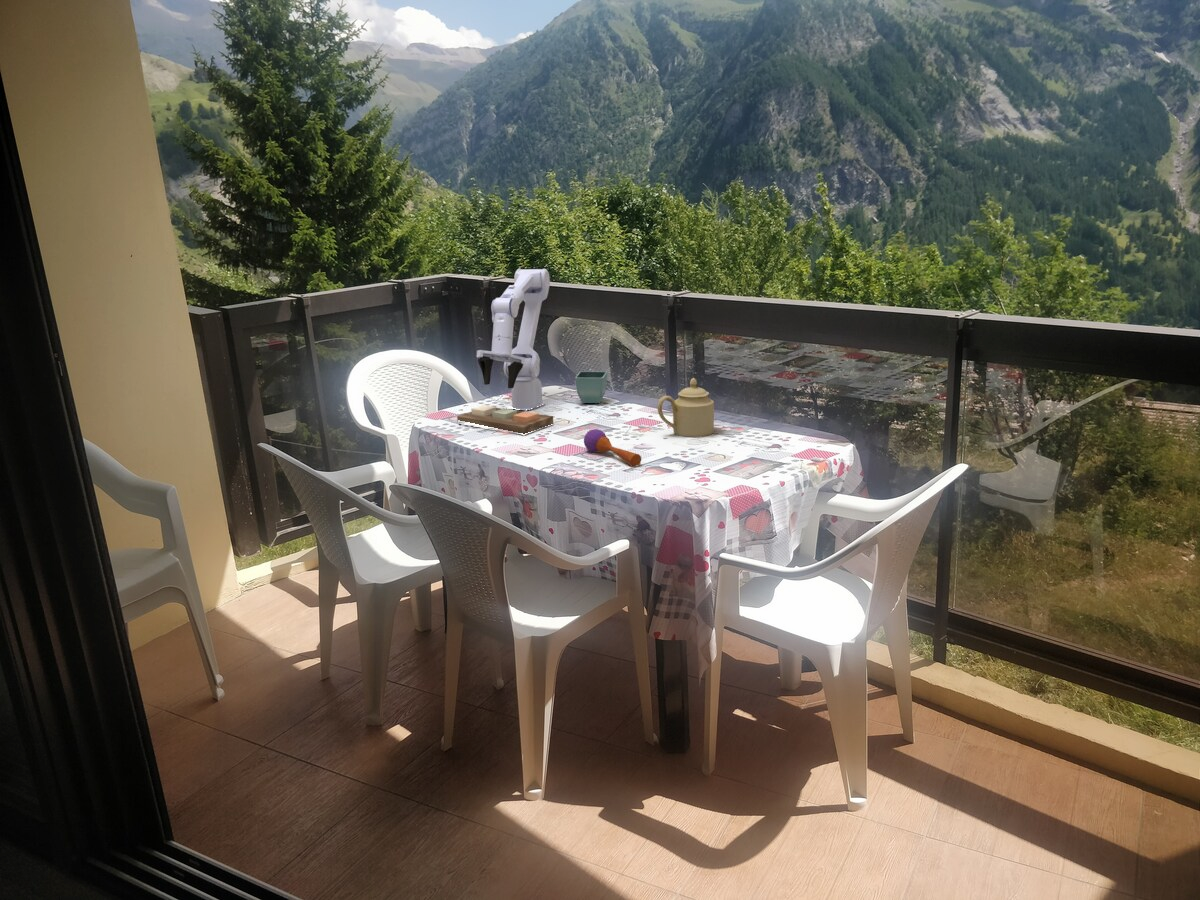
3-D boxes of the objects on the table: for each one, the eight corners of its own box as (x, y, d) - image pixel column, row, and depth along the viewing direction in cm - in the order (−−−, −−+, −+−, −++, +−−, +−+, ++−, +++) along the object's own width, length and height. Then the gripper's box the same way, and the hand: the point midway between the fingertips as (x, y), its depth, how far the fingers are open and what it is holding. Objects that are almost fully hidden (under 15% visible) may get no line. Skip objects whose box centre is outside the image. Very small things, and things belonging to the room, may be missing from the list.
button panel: (488, 414, 286) (487, 406, 285) (553, 424, 272) (553, 416, 271) (457, 424, 276) (457, 416, 275) (524, 435, 261) (523, 426, 261)
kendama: (624, 454, 229) (577, 431, 244) (627, 475, 231) (581, 452, 246) (644, 445, 231) (596, 423, 247) (647, 466, 234) (599, 443, 249)
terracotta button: (525, 419, 272) (524, 411, 271) (538, 422, 269) (538, 413, 268) (513, 423, 268) (513, 415, 267) (527, 426, 265) (527, 417, 265)
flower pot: (604, 406, 290) (603, 377, 288) (575, 406, 292) (574, 377, 289) (608, 399, 299) (607, 371, 296) (580, 399, 300) (579, 371, 297)
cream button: (483, 413, 281) (482, 405, 280) (496, 415, 278) (495, 407, 277) (472, 417, 277) (471, 408, 276) (484, 419, 274) (484, 410, 274)
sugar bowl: (687, 443, 249) (687, 386, 245) (655, 436, 256) (654, 381, 252) (722, 430, 259) (722, 376, 255) (690, 424, 267) (689, 371, 262)
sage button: (504, 416, 276) (503, 408, 276) (517, 418, 274) (516, 410, 273) (492, 420, 273) (491, 412, 272) (505, 422, 270) (505, 414, 269)
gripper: (486, 332, 265) (482, 381, 264) (531, 341, 273) (528, 388, 272) (474, 336, 271) (471, 383, 269) (519, 344, 279) (516, 390, 278)
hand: (498, 386), depth 271 cm, fingers open, 7 cm apart
